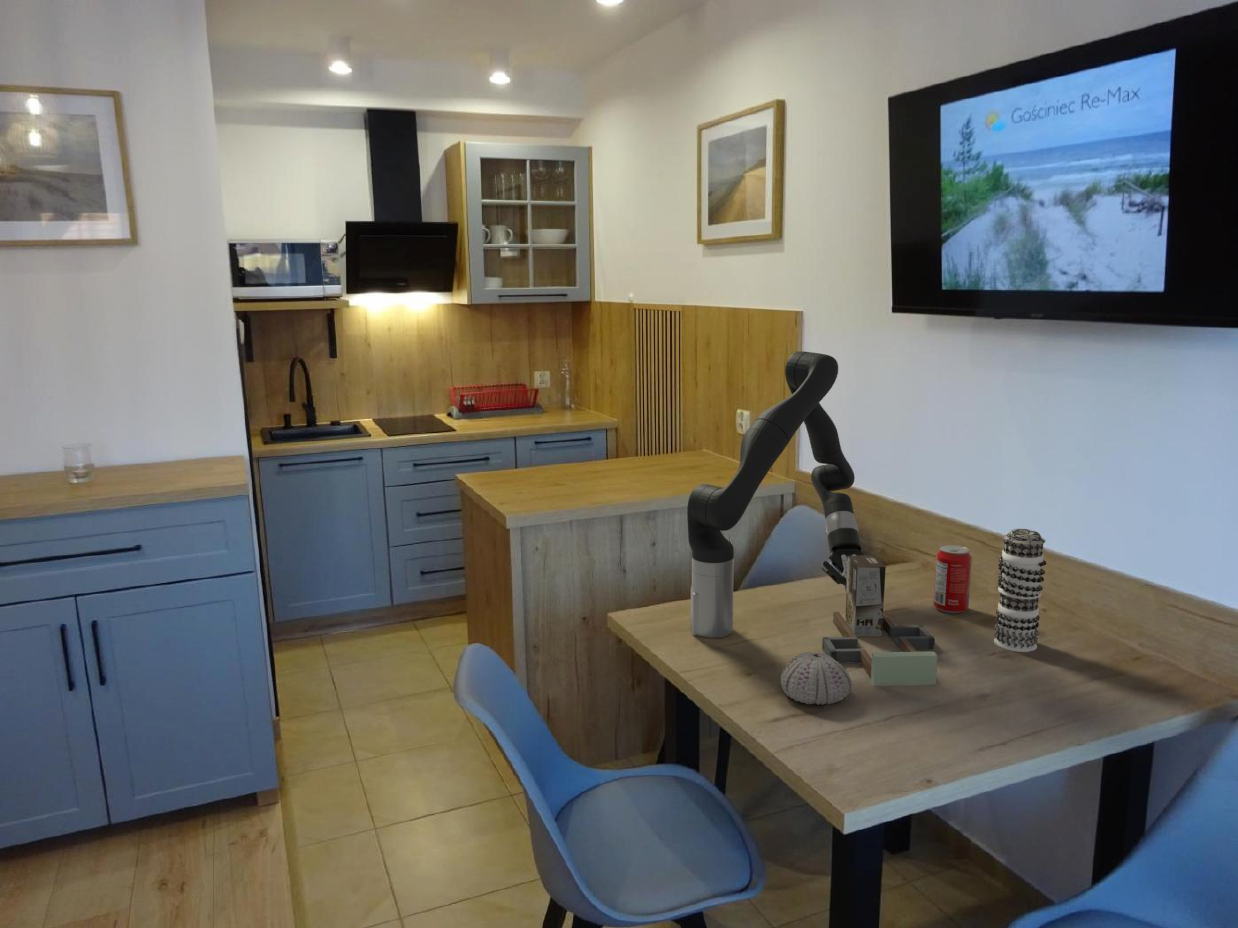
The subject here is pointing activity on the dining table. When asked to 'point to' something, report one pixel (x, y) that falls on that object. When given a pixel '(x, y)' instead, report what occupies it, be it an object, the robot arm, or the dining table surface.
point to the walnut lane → (864, 656)
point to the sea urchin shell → (815, 679)
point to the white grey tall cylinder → (1019, 590)
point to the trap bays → (848, 652)
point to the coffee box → (865, 595)
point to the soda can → (952, 579)
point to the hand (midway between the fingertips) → (854, 598)
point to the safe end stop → (903, 668)
